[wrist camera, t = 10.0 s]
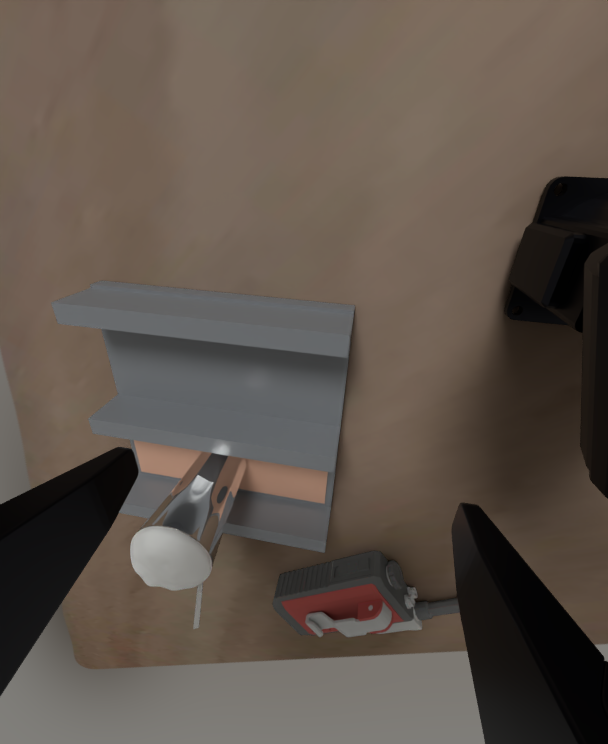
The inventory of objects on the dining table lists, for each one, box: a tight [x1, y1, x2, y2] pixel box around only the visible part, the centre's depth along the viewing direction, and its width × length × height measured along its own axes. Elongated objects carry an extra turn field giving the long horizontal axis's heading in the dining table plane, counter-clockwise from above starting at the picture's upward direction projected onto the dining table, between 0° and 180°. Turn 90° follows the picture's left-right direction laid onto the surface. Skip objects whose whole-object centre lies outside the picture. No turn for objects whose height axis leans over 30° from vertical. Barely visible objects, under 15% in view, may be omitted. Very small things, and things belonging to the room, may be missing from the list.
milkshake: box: [130, 451, 247, 629], centre depth 21 cm, size 4×5×10 cm
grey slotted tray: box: [51, 281, 355, 553], centre depth 23 cm, size 16×17×4 cm
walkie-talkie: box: [273, 551, 460, 637], centre depth 30 cm, size 9×4×20 cm
